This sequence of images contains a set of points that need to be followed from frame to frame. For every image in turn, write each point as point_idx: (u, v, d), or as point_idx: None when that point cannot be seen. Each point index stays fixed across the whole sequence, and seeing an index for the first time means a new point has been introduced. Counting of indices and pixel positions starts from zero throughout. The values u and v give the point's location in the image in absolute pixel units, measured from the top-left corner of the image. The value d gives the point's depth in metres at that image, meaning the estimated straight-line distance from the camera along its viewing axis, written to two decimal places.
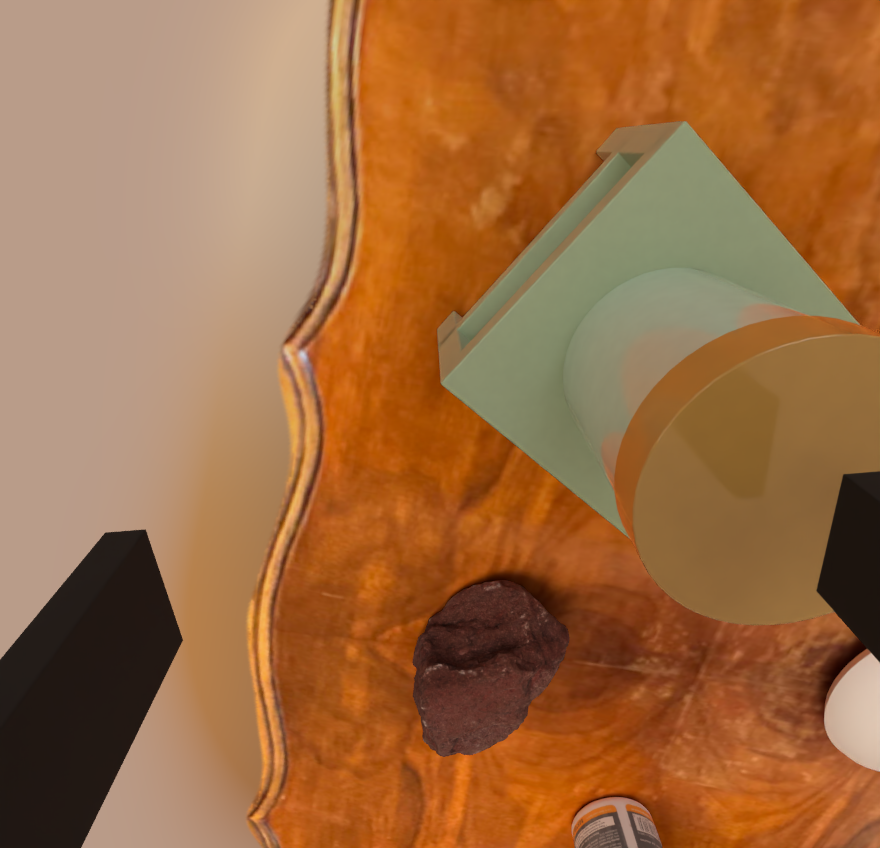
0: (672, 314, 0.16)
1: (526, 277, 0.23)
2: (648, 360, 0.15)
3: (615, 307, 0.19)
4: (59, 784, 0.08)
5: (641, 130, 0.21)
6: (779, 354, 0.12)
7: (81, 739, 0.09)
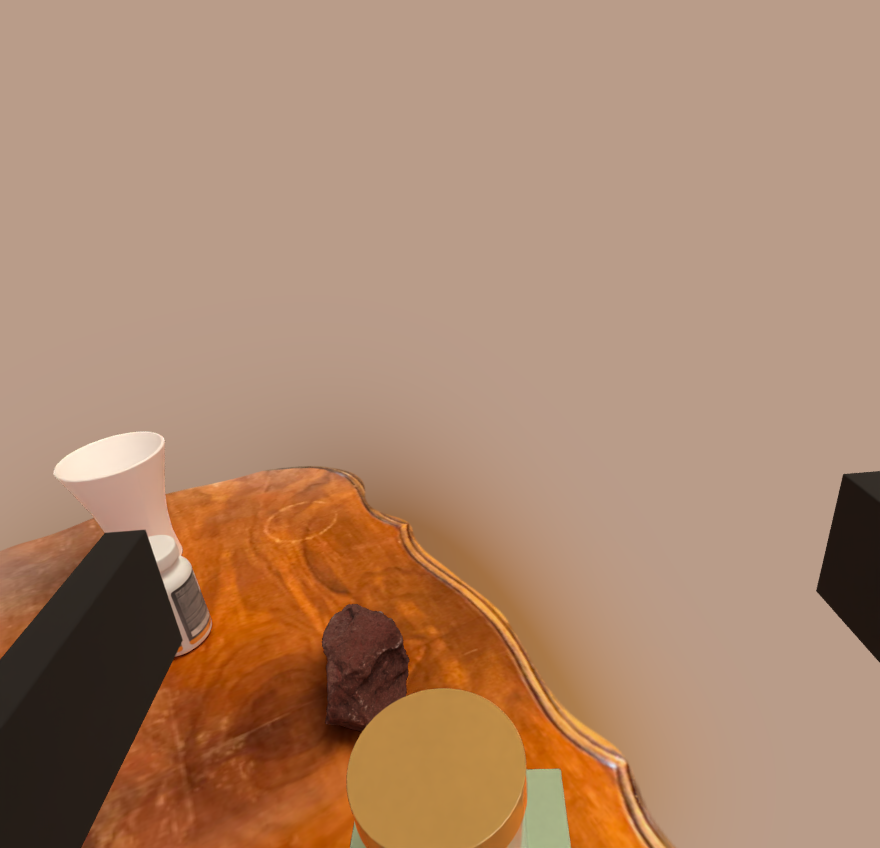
0: None
1: None
2: None
3: None
4: (59, 784, 0.08)
5: None
6: (514, 799, 0.23)
7: (81, 739, 0.09)
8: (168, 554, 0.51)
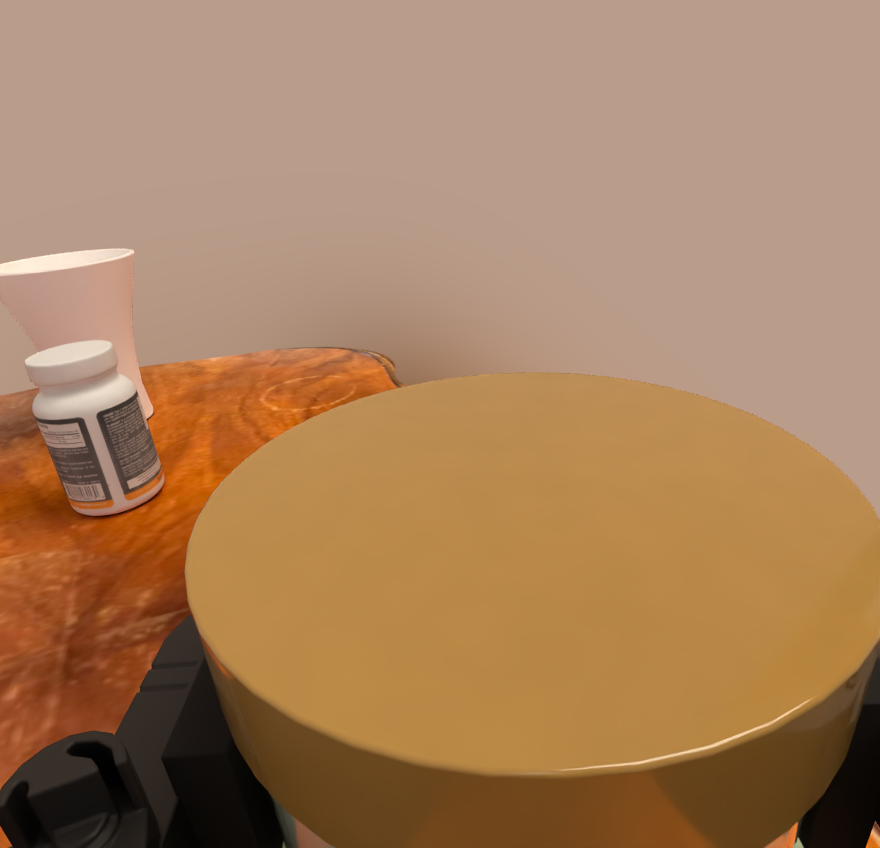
0: None
1: None
2: None
3: None
4: None
5: None
6: (871, 577, 0.05)
7: None
8: (96, 355, 0.34)
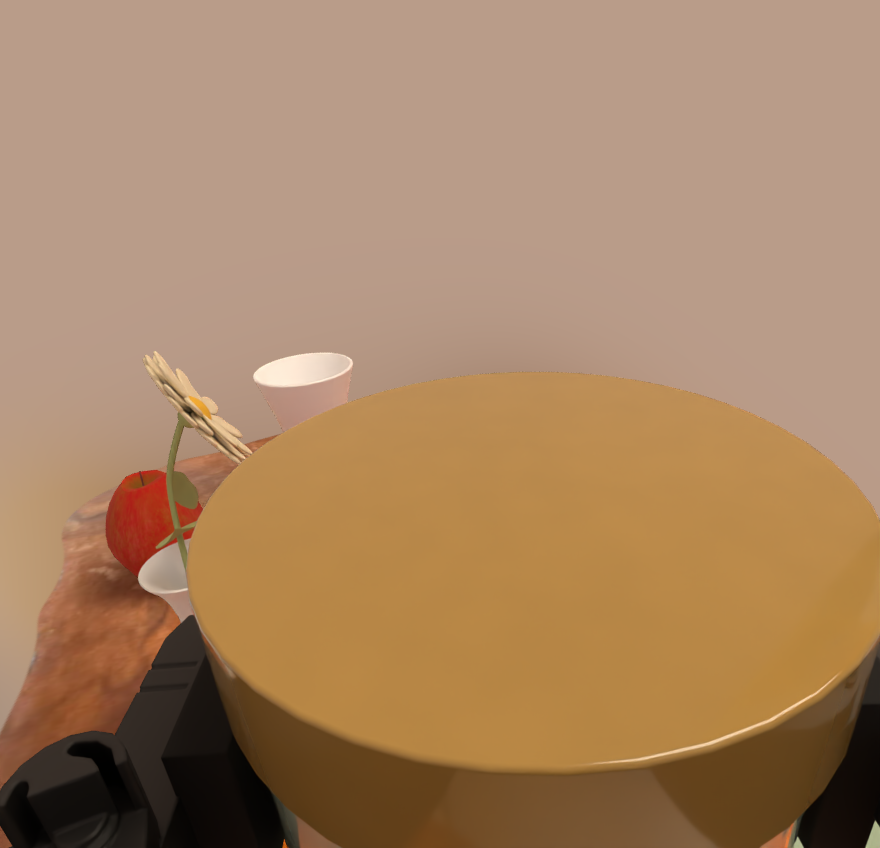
0: None
1: None
2: None
3: None
4: None
5: None
6: (869, 577, 0.05)
7: None
8: None
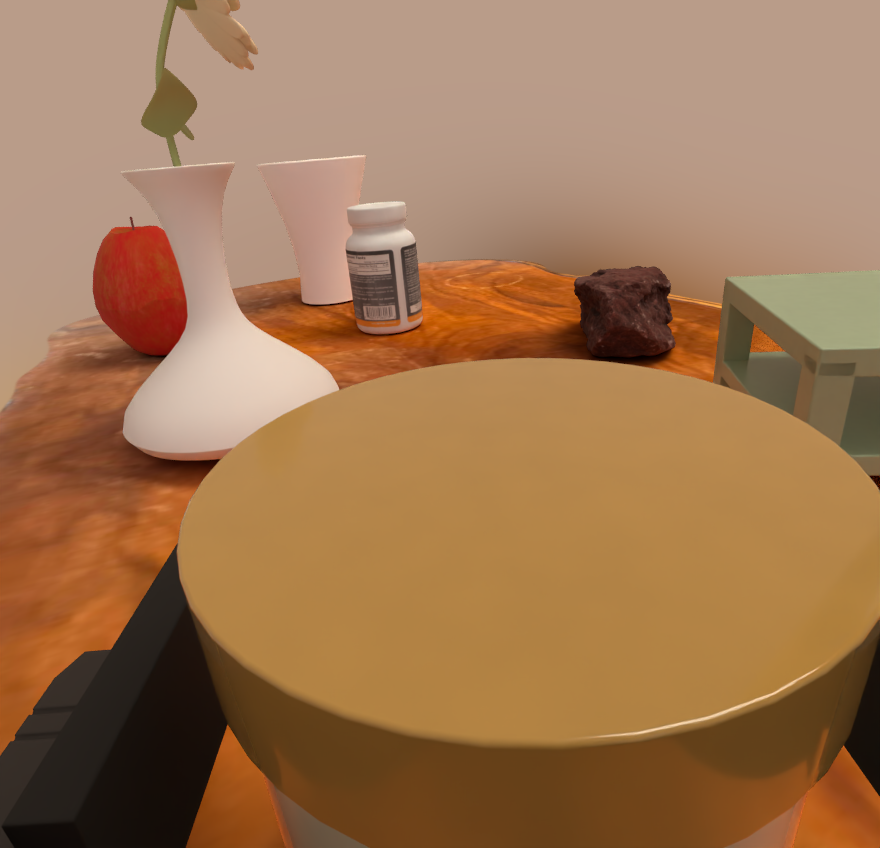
0: None
1: None
2: None
3: None
4: (197, 709, 0.09)
5: None
6: (874, 553, 0.05)
7: None
8: (401, 205, 0.47)
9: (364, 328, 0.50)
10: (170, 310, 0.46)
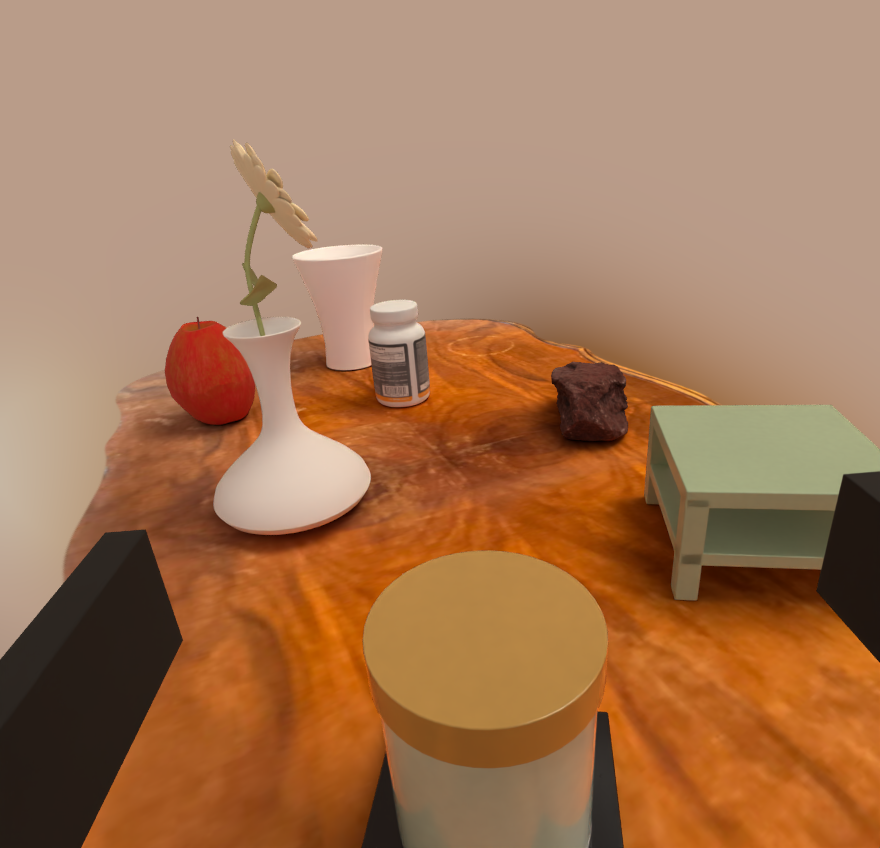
0: (592, 759, 0.19)
1: None
2: None
3: None
4: (59, 784, 0.08)
5: None
6: (591, 672, 0.17)
7: (81, 739, 0.09)
8: (414, 307, 0.58)
9: (382, 402, 0.61)
10: (228, 391, 0.57)
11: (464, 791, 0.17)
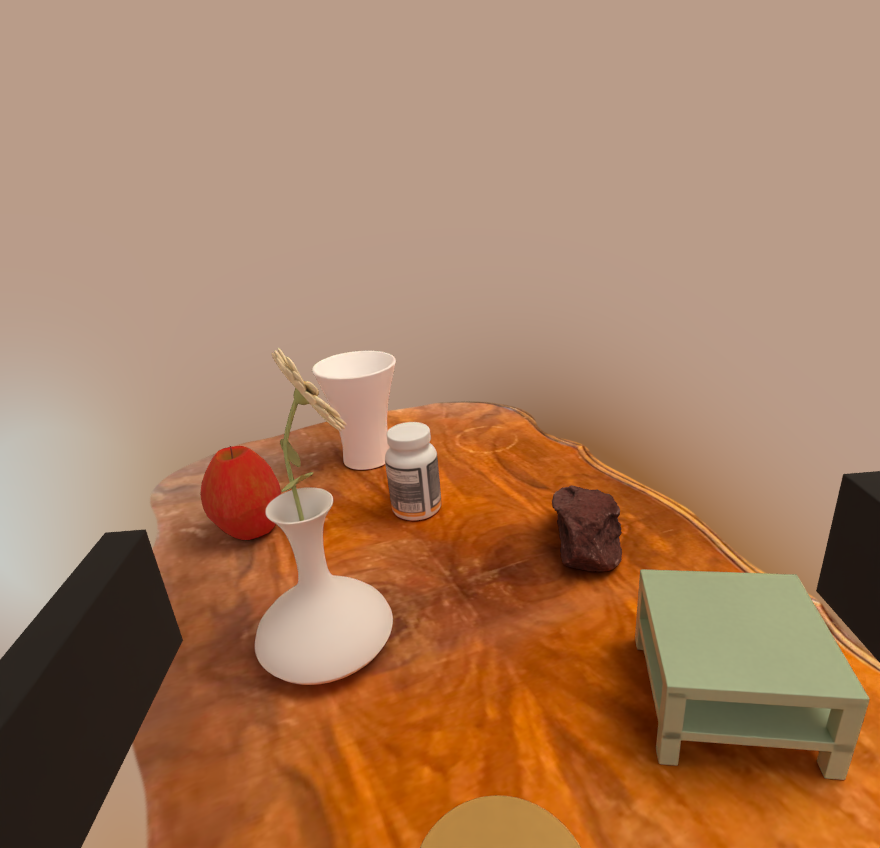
0: None
1: None
2: None
3: None
4: (59, 784, 0.08)
5: None
6: None
7: (81, 739, 0.09)
8: (427, 434, 0.64)
9: (398, 515, 0.67)
10: (259, 514, 0.63)
11: None
